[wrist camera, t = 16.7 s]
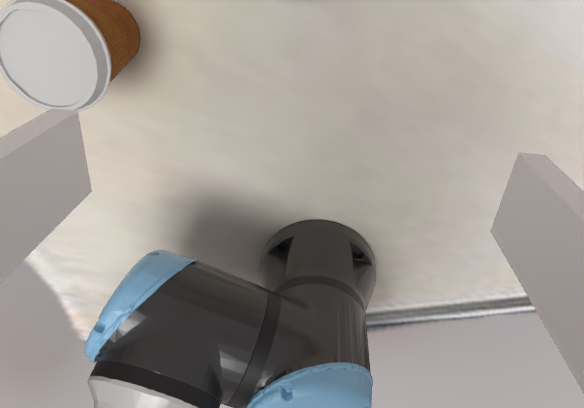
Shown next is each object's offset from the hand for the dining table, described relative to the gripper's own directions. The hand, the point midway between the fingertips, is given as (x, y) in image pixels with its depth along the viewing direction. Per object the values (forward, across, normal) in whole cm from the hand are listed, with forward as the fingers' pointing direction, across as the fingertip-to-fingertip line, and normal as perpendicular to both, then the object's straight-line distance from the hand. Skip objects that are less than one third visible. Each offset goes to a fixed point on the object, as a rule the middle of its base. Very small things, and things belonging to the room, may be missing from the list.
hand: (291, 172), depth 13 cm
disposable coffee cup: (+35, +21, +3) cm, 41 cm away
